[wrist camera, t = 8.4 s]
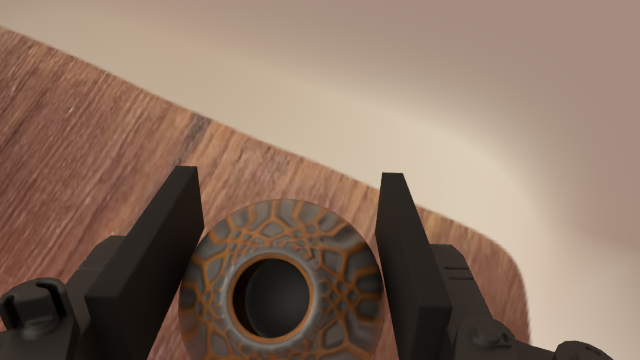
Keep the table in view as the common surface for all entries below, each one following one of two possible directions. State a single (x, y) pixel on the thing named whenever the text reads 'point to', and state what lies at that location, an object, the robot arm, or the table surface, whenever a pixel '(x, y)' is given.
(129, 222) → the table surface
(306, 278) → the vase
